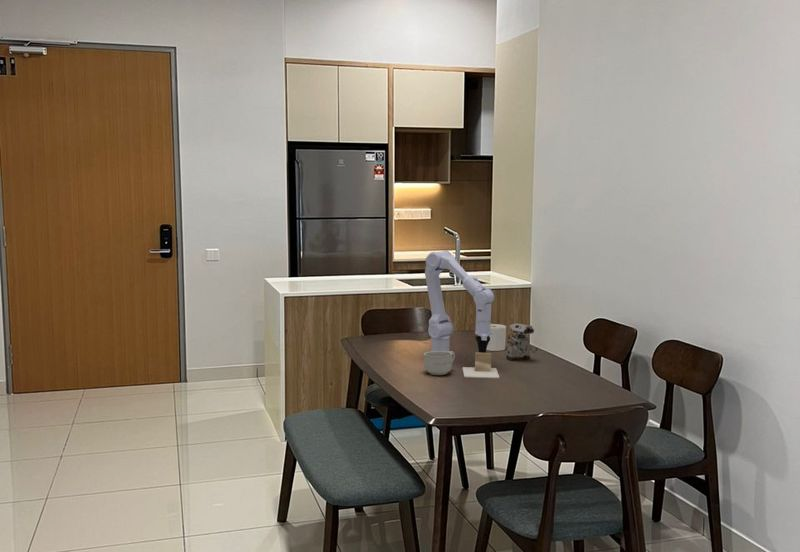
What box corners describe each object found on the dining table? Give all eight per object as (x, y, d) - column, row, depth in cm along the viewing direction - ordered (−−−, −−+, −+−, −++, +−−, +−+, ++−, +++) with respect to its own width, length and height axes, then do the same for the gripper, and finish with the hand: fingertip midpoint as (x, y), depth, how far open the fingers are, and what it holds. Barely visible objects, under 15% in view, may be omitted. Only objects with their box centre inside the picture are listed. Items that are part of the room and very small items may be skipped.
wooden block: (474, 370, 295) (475, 352, 294) (490, 370, 294) (491, 352, 294) (475, 371, 293) (475, 353, 292) (490, 371, 293) (491, 353, 292)
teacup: (433, 378, 283) (434, 357, 282) (417, 371, 292) (418, 351, 291) (464, 374, 290) (465, 353, 289) (448, 367, 299) (448, 347, 298)
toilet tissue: (499, 352, 328) (500, 329, 326) (473, 348, 334) (474, 326, 333) (509, 348, 337) (510, 325, 335) (484, 344, 343) (485, 322, 342)
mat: (462, 368, 299) (462, 367, 299) (495, 369, 299) (496, 368, 299) (464, 377, 285) (464, 376, 285) (499, 378, 285) (499, 377, 285)
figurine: (516, 364, 307) (518, 327, 305) (504, 357, 318) (505, 322, 316) (537, 363, 310) (538, 326, 308) (524, 356, 321) (525, 321, 319)
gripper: (495, 324, 290) (494, 359, 292) (492, 317, 304) (490, 351, 306) (476, 323, 290) (475, 359, 292) (474, 317, 305) (473, 350, 306)
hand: (482, 355), depth 299 cm, fingers closed
